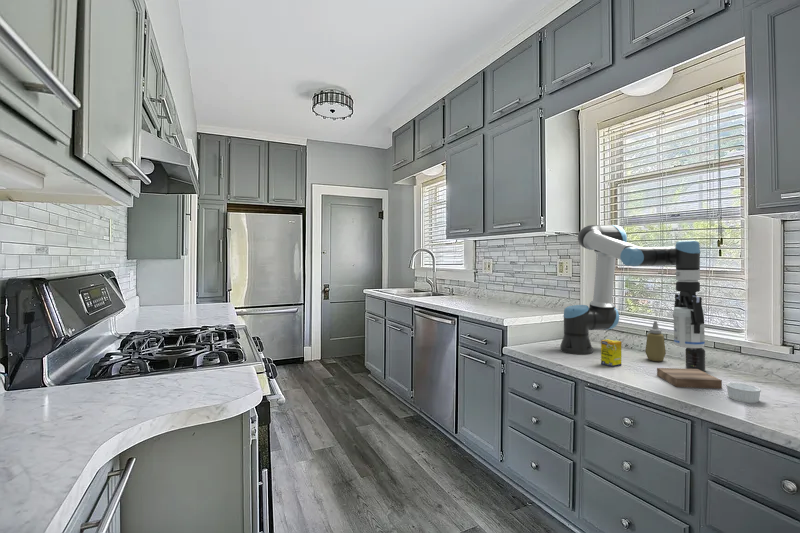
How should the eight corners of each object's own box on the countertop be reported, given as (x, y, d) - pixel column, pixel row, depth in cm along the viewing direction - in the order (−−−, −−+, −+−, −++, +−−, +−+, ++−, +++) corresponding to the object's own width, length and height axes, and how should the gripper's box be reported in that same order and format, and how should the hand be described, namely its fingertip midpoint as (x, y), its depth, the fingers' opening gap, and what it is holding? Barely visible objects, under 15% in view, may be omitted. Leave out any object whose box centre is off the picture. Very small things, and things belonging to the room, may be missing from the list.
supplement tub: (708, 346, 151) (708, 308, 151) (698, 350, 146) (698, 310, 146) (679, 342, 160) (679, 305, 159) (669, 345, 154) (668, 307, 154)
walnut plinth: (657, 375, 162) (657, 367, 162) (697, 376, 159) (697, 369, 159) (676, 387, 147) (676, 378, 147) (721, 388, 145) (721, 380, 145)
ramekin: (750, 395, 138) (750, 383, 137) (767, 404, 129) (767, 391, 129) (720, 394, 140) (720, 381, 139) (735, 402, 131) (735, 389, 131)
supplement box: (600, 364, 179) (600, 340, 179) (609, 362, 182) (609, 338, 182) (613, 367, 174) (613, 342, 174) (621, 365, 177) (621, 341, 177)
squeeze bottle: (662, 363, 180) (662, 323, 179) (642, 360, 186) (642, 321, 185) (668, 360, 185) (668, 321, 185) (648, 357, 191) (648, 319, 191)
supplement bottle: (687, 366, 174) (687, 339, 174) (706, 369, 169) (706, 341, 169) (683, 369, 169) (683, 341, 169) (703, 372, 164) (703, 344, 164)
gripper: (662, 279, 164) (662, 333, 164) (693, 282, 142) (693, 345, 143) (682, 279, 163) (682, 334, 163) (716, 282, 141) (716, 345, 141)
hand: (687, 339), depth 153 cm, fingers closed on supplement tub, 9 cm apart
